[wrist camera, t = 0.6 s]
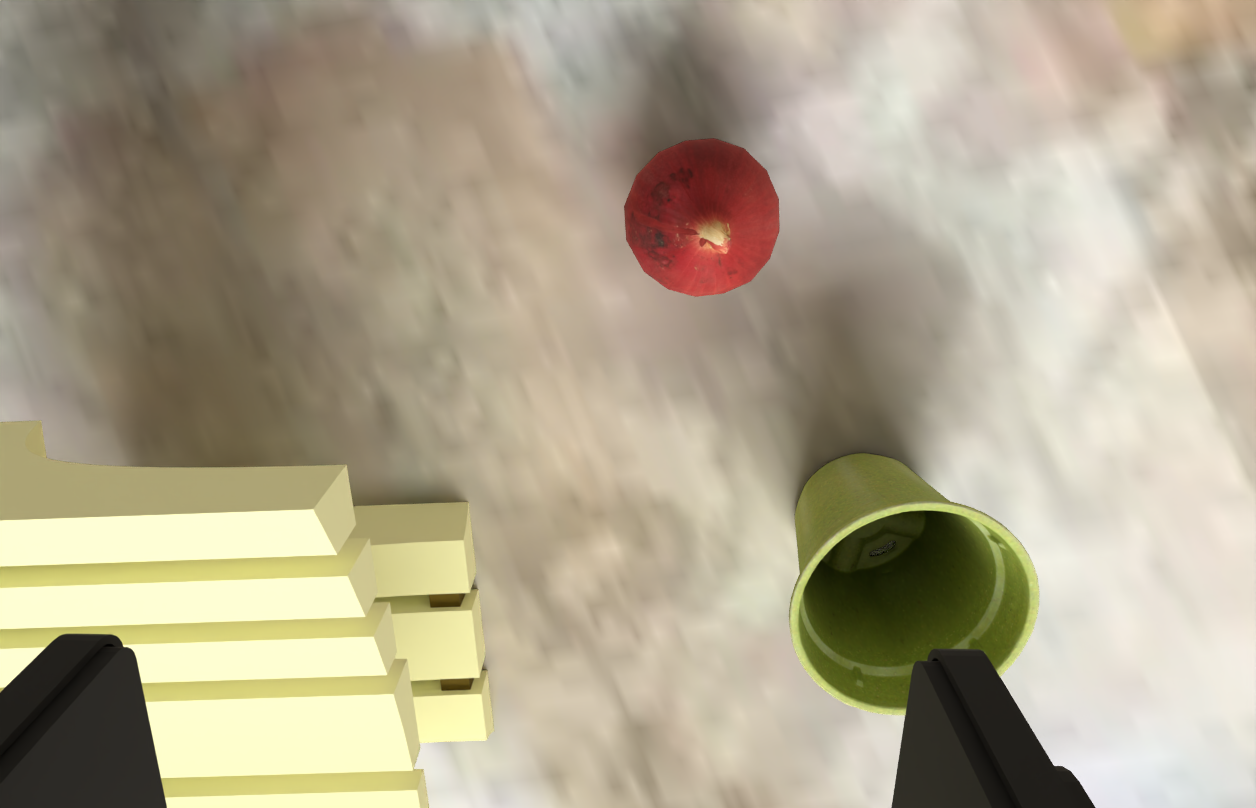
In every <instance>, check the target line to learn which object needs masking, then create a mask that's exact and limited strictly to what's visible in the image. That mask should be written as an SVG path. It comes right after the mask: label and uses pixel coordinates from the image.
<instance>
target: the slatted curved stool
mask: <svg viewBox="0 0 1256 808" xmlns="http://www.w3.org/2000/svg"><path fill="white" fill-rule="evenodd" d="M475 575H476V565H475V556H474V547H473V538H472V529H471V520H470V511H469V502H454V503H426V504H398V505H370V506H353V502H352V496H351V490H350V483H349V477H348V471H347V465H317V466H277V467H188V468H184V467H127V466H106V465H91V464H80V463H71V462H64V461H58V460H52V459H48V458H47V457H46V451H45V445H44V438H43V431H42V424H41V421H17V422H0V692H1V691H2V690H3V689H4V688H5V687H6V686H7V685H8V684H9V683H10V682H11V681H12V680H13V679H14V678H15V677H16V676H17V675H18V674H19V673H20V672H21V671H22V670H23V669H24V668H25V667H26V666H27V665H28V664H30V663H31V662H32V661H33V660H34V659H35V658H36V657H37V656H38V655H39V654H40V653H41V652H42V651H43V650H44V649H45V648H46V647H47V646H48V645H49V644H50V643H51V642H52V641H53V640H54V639H56V638H57V637H58V636H60V635H63V634H112V635H115V636H117V637H118V638H119V639H120V640H121V641H122V644H123V647H129V648H131V649H132V650H133V651H134V652H135V655H136V658H137V663H138V668H139V673H140V678H141V683H142V688H143V692H144V697H145V702H146V707H147V712H148V717H149V722H150V727H151V732H152V736H153V741H154V746H155V751H156V756H157V761H158V766H159V771H160V776H161V780H162V785H163V790H164V795H165V800H166V805H167V808H429V804H428V797H427V790H426V783H425V776H424V769H414V766H415V763H416V760H417V757H418V754H419V751H420V743H429V742H451V741H479V740H487V739H488V737H489V735H490V734H491V733H492V732H493V731H494V726H493V717H492V708H491V699H490V691H489V682H488V673H487V670H482V666H483V662H484V658H485V646H484V637H483V628H482V619H481V610H480V601H479V592H478V589H471V587H472V584H473V581H474V578H475Z"/></svg>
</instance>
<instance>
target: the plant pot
mask: <svg viewBox="0 0 1256 808" xmlns="http://www.w3.org/2000/svg"><path fill="white" fill-rule="evenodd" d="M795 526H796V537H797V547H798V558H799V569H800V575H799V577H798V579H797V582H796V584H795V587H794V590H793V594H792V597H791V602H790V610H789V625H790V633H791V638H792V643H793V646H794V649H795V652H796V654H797V656H798V658H799V660H800V662H801V664H802V666H803V667H804V669H805V670H806V672H807V673H808V674H809V675H810V677H811V678H812V679H813V680H814V681H815V682H816V683H817V684H818V685H819V686H820V687H821V688H822V689H824V690H825V691H826V692H827V693H829V694H830V695H831V696H833V697H834V698H836V699H838V700H840V701H841V702H843V703H845V704H847V705H850V706H853V707H856V708H859V709H862V710H865V711H868V712H872V713H878V714H886V715H906V708H907V701H908V694H909V688H910V681H911V674H912V669H913V665H914V663H915V662H916V661H927V659H928V655H929V653H930V651H931V650H933V649H979V650H982V651H984V653H985V654H986V655H987V656H988V658H989V660H990V661H991V663H992V665H993V666H994V668H995V670H996V671H997V673H998V675H999V676H1002V675H1003V674H1004V672H1005V671H1006V670H1007V669H1008V668H1009V667H1010V666H1011V665H1012V664H1013V663H1014V661H1015V660H1016V659H1017V657H1018V656H1019V655H1020V653H1021V652H1022V650H1023V648H1024V647H1025V645H1026V643H1027V641H1028V639H1029V638H1030V636H1031V634H1032V632H1033V629H1034V625H1035V622H1036V618H1037V614H1038V608H1039V585H1038V578H1037V574H1036V571H1035V568H1034V565H1033V563H1032V561H1031V559H1030V557H1029V555H1028V553H1027V551H1026V550H1025V548H1024V547H1023V545H1022V544H1021V543H1020V541H1019V540H1018V539H1017V538H1016V537H1015V536H1014V535H1013V534H1012V533H1011V532H1010V531H1009V530H1008V529H1007V528H1006V527H1005V526H1003V525H1002V524H1001V523H999V522H998V521H996V520H995V519H993V518H992V517H990V516H988V515H987V514H985V513H983V512H981V511H978V510H976V509H974V508H971V507H968V506H965V505H962V504H958V503H954V502H950V501H949V500H947V499H946V498H945V497H944V496H942V495H941V494H940V493H939V492H937V491H936V490H935V489H934V488H932V487H931V486H930V485H929V484H928V483H926V482H925V481H924V480H923V479H922V478H920V477H919V476H918V475H917V474H915V473H914V472H913V471H912V470H911V469H909V468H908V467H907V466H906V465H904V464H903V463H901V462H900V461H898V460H896V459H892V458H888V457H884V456H879V455H873V454H866V453H857V454H851V455H847V456H844V457H841V458H838V459H836V460H834V461H832V462H830V463H828V464H826V465H825V466H823V467H822V468H821V469H819V470H818V471H817V472H816V473H815V474H814V475H812V477H811V478H810V479H809V480H808V481H807V483H806V484H805V486H804V488H803V490H802V493H801V495H800V498H799V500H798V504H797V507H796V512H795ZM890 541H896V544H895V546H894V547H893V548H892V549H891V550H889V551H888V552H886V553H884V554H882V555H879V556H874V557H872V556H870V555H869V554H870V552H871V551H874V550H875V549H878V548H881V547H883V546H885V545H886V544H888V543H889V542H890Z"/></svg>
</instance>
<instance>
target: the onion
mask: <svg viewBox="0 0 1256 808" xmlns="http://www.w3.org/2000/svg"><path fill="white" fill-rule="evenodd" d="M624 211H625V227H626V240H627V242H628V244H629V246H630V247H631V249H632V251H633V253H634V255H635V256H636V258H637V260H638V262H639V264H640V265H641V267H642V269H643V271H644V272H645V273H647V274H648V275H649V276H651V277H652V278H653V279H655V280H656V281H658V282H659V283H660V284H662V285H663V286H664V287H666V288H667V289H669V290H673V291H677V292H680V293H684V294H688V295H691V296H695V297H696V296H705V295H714V294H722V293H726V292H728V291H730V290H732V289H735V288H737V287H739V286H741V285H744V284H746V283H748V282H750V281H751V280H752V279H753V278H754V277H755V276H756V274H757V273H758V272H759V271H760V270H761V268H762V267H763V266H764V265H765V264H766V263H767V261H768V260H769V259H770V256H771V254H772V251H773V248H774V245H775V242H776V239H777V236H778V233H779V199H778V196H777V194H776V192H775V189H774V187H773V184H772V182H771V180H770V177H769V175H768V173H767V170H766V169H765V168H763V167H762V166H761V165H760V164H759V163H758V162H757V161H756V160H755V159H754V158H753V157H752V156H751V155H750V154H749V153H748V152H747V151H746V150H745V149H744V148H741V147H738V146H736V145H733V144H730V143H727V142H724V141H721V140H718V139H715V138H713V139H700V140H688V141H684V142H681V143H679V144H677V145H674V146H672V147H670V148H667V149H665V150H663V151H660V152H658V153H657V154H656V155H655V157H654V158H653V159H652V160H651V161H650V162H649V163H648V164H647V165H646V166H645V167H644V168H643V169H642V170H641V171H640V172H639V173H638V174H637V176H636V178H635V181H634V183H633V186H632V188H631V191H630V193H629V196H628V198H627V201H626V203H625V206H624Z"/></svg>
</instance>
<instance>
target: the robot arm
mask: <svg viewBox="0 0 1256 808" xmlns="http://www.w3.org/2000/svg"><path fill="white" fill-rule="evenodd" d="M0 808H167V805H166V800H165V795H164V790H163V785H162V780H161V776H160V771H159V766H158V761H157V756H156V751H155V746H154V741H153V736H152V732H151V727H150V722H149V717H148V712H147V707H146V702H145V697H144V692H143V688H142V683H141V678H140V673H139V668H138V663H137V658H136V655H135V652H134V651H133V650H132V649H131V648H129V647H123V644H122V641H121V640H120V639H119V638H118V637H117V636H115V635H112V634H63V635H60V636H58V637H57V638H56V639H54V640H53V641H52V642H51V643H50V644H49V645H48V646H47V647H46V648H45V649H44V650H43V651H42V652H41V653H40V654H39V655H38V656H37V657H36V658H35V659H34V660H33V661H32V662H31V663H30V664H28V665H27V666H26V667H25V668H24V669H23V670H22V671H21V672H20V673H19V674H18V675H17V676H16V677H15V678H14V679H13V680H12V681H11V682H10V683H9V684H8V685H7V686H6V687H5V688H4V689H3V690H2V691H1V692H0ZM892 808H1095V806H1094V805H1093V803H1092V801H1091V800H1090V798H1089V797H1088V795H1087V793H1086V792H1085V790H1084V789H1083V787H1082V785H1081V784H1080V782H1079V781H1078V780H1077V778H1076V777H1075V776H1074V775H1073V774H1072V772H1071V771H1069V770H1068V769H1066V768H1064V767H1063V766H1054V765H1053V764H1052V762H1051V761H1050V759H1049V757H1048V756H1047V754H1046V752H1045V751H1044V749H1043V747H1042V746H1041V744H1040V742H1039V741H1038V739H1037V737H1036V736H1035V734H1034V732H1033V731H1032V729H1031V727H1030V726H1029V724H1028V722H1027V721H1026V719H1025V718H1024V716H1023V714H1022V713H1021V711H1020V709H1019V708H1018V706H1017V704H1016V703H1015V701H1014V699H1013V698H1012V696H1011V694H1010V693H1009V691H1008V689H1007V688H1006V686H1005V684H1004V683H1003V681H1002V680H1001V678H1000V676H999V675H998V673H997V671H996V670H995V668H994V666H993V665H992V663H991V661H990V660H989V658H988V656H987V655H986V654H985V653H984V651H982V650H979V649H933V650H931V651H930V653H929V655H928V659H927V661H916V662H915V663H914V665H913V669H912V674H911V681H910V688H909V694H908V701H907V708H906V715H905V721H904V728H903V735H902V742H901V748H900V755H899V762H898V769H897V775H896V782H895V789H894V795H893V802H892Z"/></svg>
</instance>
